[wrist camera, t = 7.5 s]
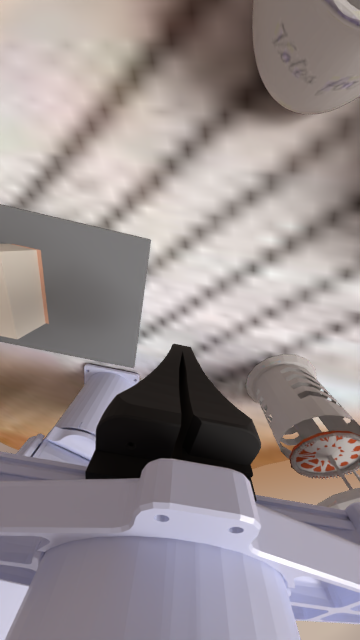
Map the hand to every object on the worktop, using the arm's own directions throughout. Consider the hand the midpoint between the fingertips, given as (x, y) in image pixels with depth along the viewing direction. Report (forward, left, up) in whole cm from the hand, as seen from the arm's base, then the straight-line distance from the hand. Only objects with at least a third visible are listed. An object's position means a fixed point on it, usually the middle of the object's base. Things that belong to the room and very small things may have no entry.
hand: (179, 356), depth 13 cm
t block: (-1, +21, -9) cm, 23 cm away
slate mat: (-2, +16, -9) cm, 19 cm away
